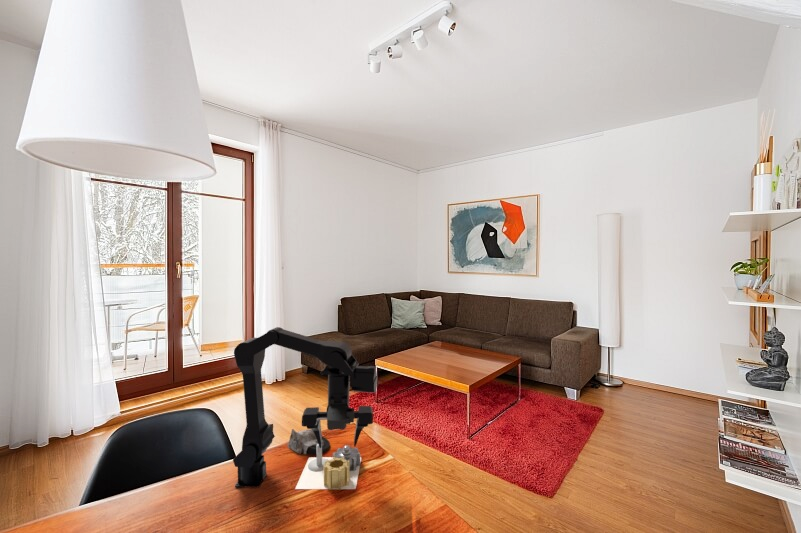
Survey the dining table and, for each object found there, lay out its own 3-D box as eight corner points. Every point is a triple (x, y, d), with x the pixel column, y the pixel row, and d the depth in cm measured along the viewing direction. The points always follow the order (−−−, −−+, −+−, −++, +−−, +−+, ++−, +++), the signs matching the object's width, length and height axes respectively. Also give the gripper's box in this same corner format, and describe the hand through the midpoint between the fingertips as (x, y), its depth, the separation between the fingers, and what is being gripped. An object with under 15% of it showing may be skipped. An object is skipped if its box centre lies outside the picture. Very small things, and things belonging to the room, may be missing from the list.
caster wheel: (331, 459, 117) (306, 468, 109) (310, 440, 124) (285, 448, 116) (336, 439, 117) (312, 447, 109) (315, 422, 124) (290, 428, 116)
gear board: (295, 494, 96) (294, 466, 96) (309, 462, 111) (309, 437, 111) (355, 494, 96) (355, 466, 96) (361, 462, 111) (361, 437, 111)
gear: (330, 473, 103) (330, 453, 103) (335, 457, 111) (335, 439, 111) (358, 473, 103) (358, 453, 103) (361, 457, 111) (361, 439, 111)
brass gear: (321, 489, 95) (321, 471, 95) (326, 474, 102) (326, 456, 102) (347, 489, 95) (347, 471, 95) (350, 474, 102) (350, 456, 102)
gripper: (298, 403, 89) (297, 465, 90) (374, 401, 92) (373, 461, 92) (305, 386, 100) (304, 442, 101) (372, 385, 103) (371, 439, 103)
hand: (337, 446), depth 99 cm, fingers open, 9 cm apart
